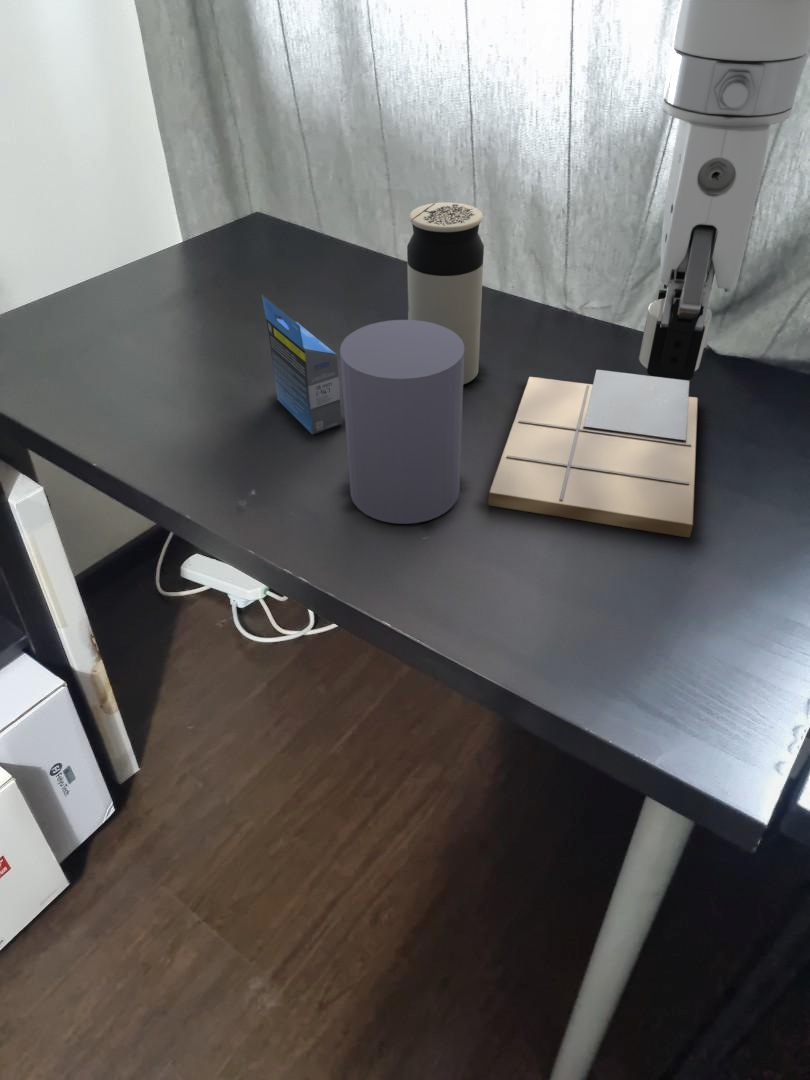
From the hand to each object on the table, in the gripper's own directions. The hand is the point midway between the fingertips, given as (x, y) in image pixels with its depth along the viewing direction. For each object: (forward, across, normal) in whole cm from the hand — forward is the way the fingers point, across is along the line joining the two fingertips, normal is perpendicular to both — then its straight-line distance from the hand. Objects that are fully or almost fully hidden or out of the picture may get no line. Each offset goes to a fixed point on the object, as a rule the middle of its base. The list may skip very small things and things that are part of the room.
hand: (670, 356), depth 61 cm
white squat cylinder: (0, 0, 0) cm, 0 cm away
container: (+18, +2, +21) cm, 28 cm away
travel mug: (+18, +24, +23) cm, 38 cm away
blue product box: (+18, +13, +35) cm, 41 cm away
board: (+18, +14, +4) cm, 23 cm away
